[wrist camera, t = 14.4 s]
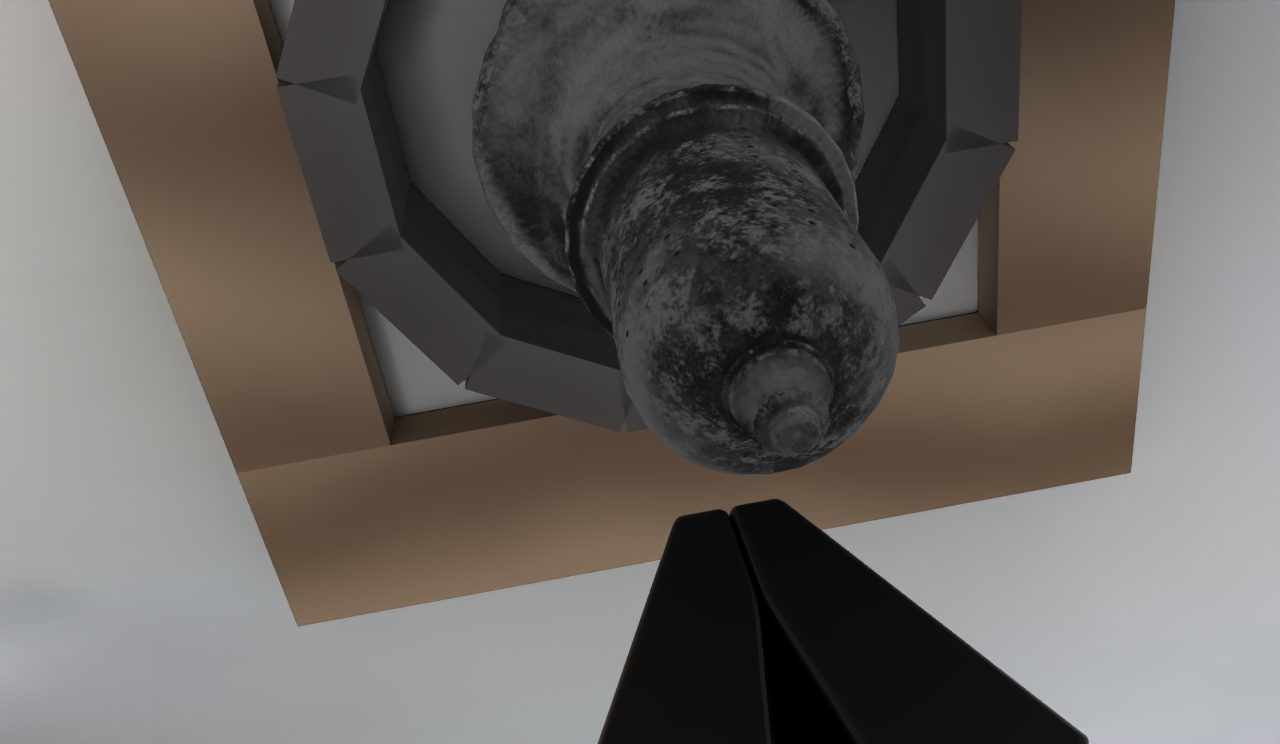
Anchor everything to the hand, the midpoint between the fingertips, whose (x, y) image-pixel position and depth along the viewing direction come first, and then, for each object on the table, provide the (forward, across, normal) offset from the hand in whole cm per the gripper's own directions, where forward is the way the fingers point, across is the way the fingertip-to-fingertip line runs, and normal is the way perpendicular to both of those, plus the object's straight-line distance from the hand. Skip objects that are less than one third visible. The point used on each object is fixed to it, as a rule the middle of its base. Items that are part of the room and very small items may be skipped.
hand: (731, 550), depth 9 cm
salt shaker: (+13, -1, 0) cm, 13 cm away
